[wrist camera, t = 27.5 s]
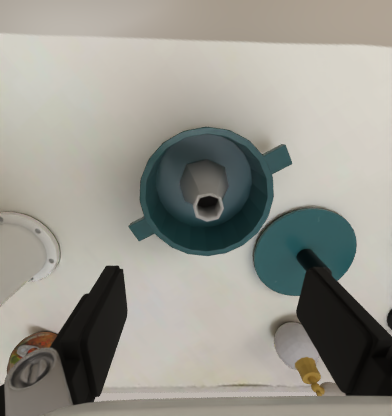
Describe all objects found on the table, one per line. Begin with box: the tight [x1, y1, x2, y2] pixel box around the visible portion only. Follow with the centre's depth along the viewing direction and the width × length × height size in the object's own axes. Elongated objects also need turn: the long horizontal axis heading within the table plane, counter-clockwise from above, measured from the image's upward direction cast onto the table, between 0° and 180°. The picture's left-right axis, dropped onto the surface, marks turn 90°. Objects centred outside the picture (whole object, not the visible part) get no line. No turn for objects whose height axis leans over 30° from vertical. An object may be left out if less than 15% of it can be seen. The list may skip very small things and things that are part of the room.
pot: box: [129, 127, 292, 256], centre depth 28 cm, size 15×21×8 cm
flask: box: [180, 159, 229, 222], centre depth 26 cm, size 7×7×10 cm
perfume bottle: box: [274, 322, 346, 396], centre depth 36 cm, size 8×10×12 cm
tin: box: [7, 332, 57, 374], centre depth 39 cm, size 15×3×8 cm, turn 58°
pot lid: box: [254, 208, 357, 296], centre depth 33 cm, size 17×17×6 cm
